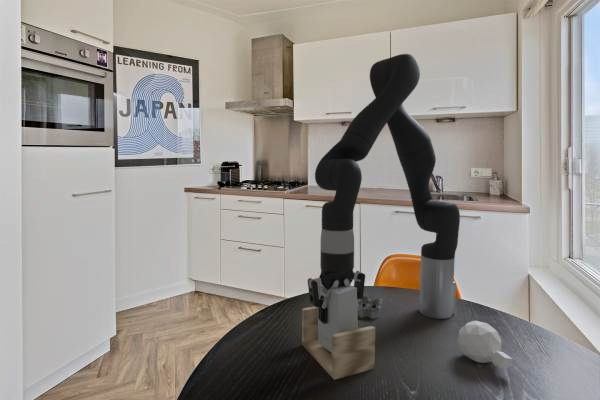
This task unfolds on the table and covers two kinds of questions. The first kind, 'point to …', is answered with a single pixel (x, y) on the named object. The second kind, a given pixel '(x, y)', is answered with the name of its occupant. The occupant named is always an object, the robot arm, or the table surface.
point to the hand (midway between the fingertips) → (336, 319)
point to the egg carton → (369, 307)
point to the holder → (339, 347)
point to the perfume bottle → (482, 344)
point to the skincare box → (338, 314)
